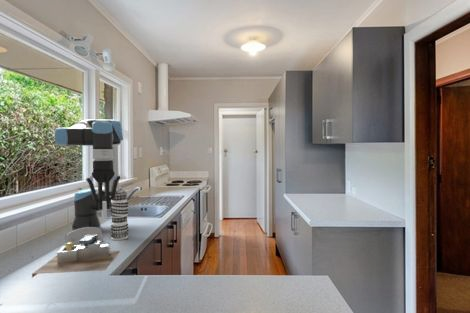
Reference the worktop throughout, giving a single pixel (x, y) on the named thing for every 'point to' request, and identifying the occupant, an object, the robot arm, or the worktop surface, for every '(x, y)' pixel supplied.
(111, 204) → the decorative candle
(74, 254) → the link
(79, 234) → the grey curved arch block
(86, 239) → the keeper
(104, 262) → the board
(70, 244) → the brass rounded cylinder
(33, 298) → the worktop surface
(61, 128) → the robot arm
